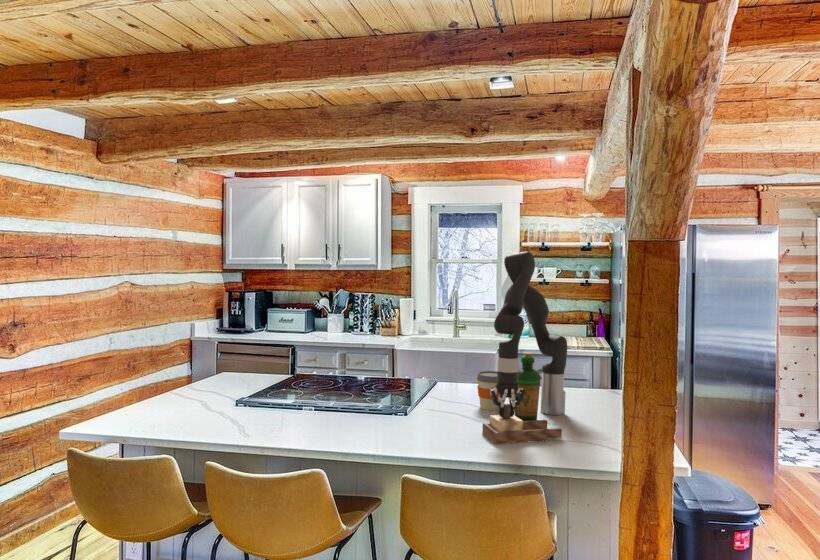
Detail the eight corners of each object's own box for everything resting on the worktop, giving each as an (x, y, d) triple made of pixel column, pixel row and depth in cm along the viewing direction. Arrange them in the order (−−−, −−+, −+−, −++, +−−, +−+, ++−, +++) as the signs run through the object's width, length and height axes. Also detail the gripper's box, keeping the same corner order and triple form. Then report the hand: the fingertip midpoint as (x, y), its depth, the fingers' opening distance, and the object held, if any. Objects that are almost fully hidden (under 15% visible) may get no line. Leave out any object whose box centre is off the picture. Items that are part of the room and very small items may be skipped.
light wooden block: (511, 430, 224) (512, 401, 223) (522, 437, 215) (523, 407, 214) (489, 431, 221) (490, 402, 221) (499, 438, 212) (500, 408, 212)
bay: (545, 430, 229) (545, 419, 229) (561, 439, 217) (562, 429, 217) (482, 433, 222) (482, 423, 222) (495, 444, 210) (495, 433, 210)
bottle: (523, 427, 232) (525, 356, 230) (506, 420, 241) (509, 351, 240) (544, 424, 236) (547, 354, 235) (527, 417, 246) (530, 350, 245)
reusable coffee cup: (492, 413, 252) (493, 377, 251) (470, 406, 261) (471, 373, 260) (511, 408, 260) (512, 374, 259) (489, 402, 269) (490, 369, 269)
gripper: (520, 367, 222) (519, 413, 223) (485, 368, 219) (484, 414, 220) (530, 371, 215) (528, 418, 216) (493, 372, 211) (492, 420, 212)
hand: (506, 416), depth 218 cm, fingers closed on light wooden block, 3 cm apart
